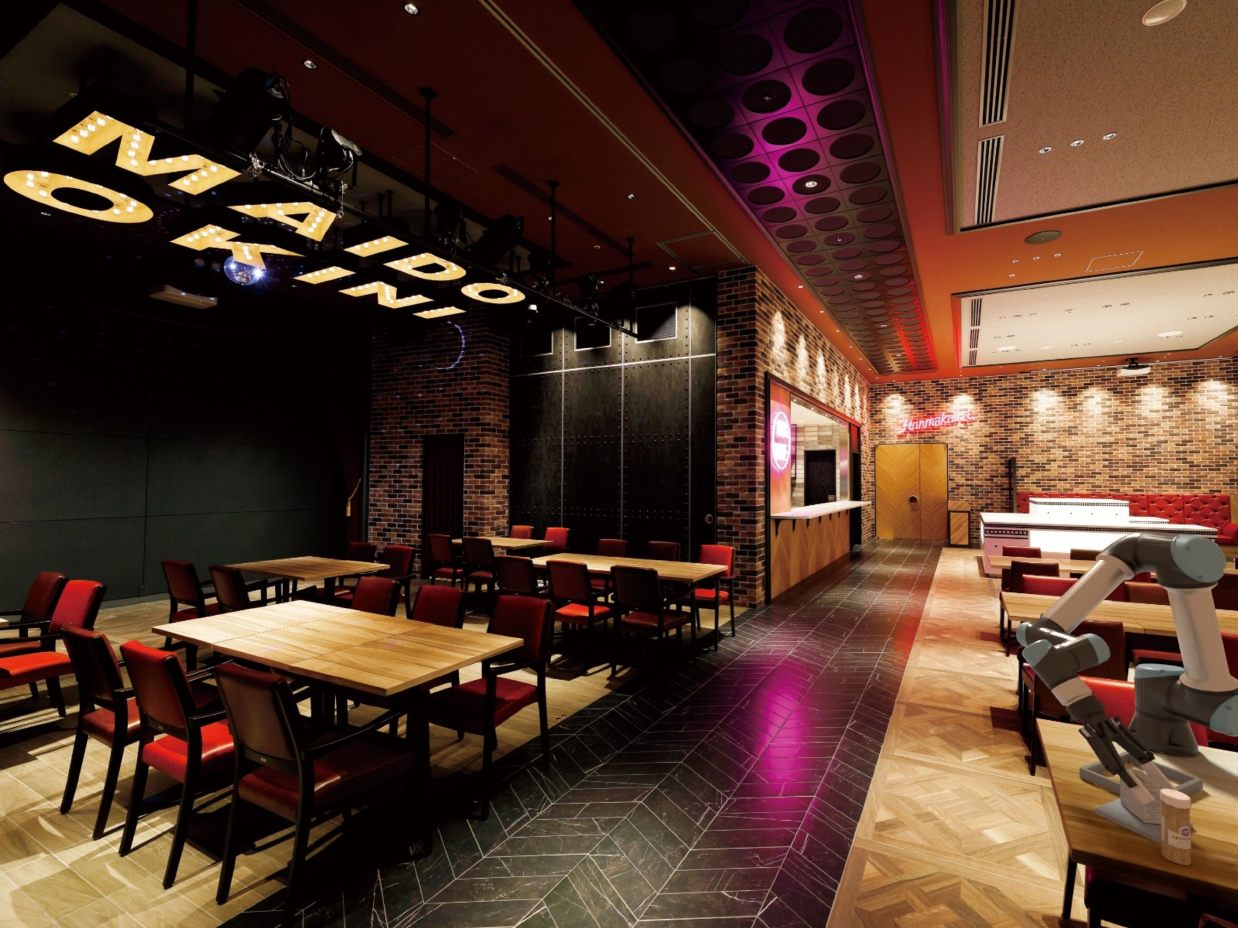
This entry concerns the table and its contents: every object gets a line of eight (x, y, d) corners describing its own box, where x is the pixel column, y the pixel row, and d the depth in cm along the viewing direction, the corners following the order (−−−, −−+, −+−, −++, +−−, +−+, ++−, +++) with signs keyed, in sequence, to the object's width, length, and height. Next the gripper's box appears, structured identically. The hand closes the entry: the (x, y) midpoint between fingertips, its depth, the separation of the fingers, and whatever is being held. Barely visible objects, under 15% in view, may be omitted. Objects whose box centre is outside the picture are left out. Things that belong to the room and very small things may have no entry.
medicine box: (1166, 825, 128) (1165, 786, 128) (1143, 823, 129) (1142, 784, 129) (1141, 805, 136) (1140, 768, 136) (1119, 803, 136) (1119, 767, 137)
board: (1128, 799, 140) (1128, 794, 140) (1192, 827, 129) (1192, 822, 129) (1095, 813, 135) (1094, 808, 135) (1159, 843, 124) (1159, 837, 124)
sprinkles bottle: (1181, 867, 116) (1180, 801, 116) (1155, 853, 120) (1154, 789, 121) (1197, 864, 117) (1196, 797, 117) (1171, 849, 122) (1170, 786, 122)
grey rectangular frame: (1126, 760, 160) (1126, 751, 160) (1202, 789, 145) (1202, 779, 145) (1079, 777, 151) (1079, 767, 151) (1156, 809, 136) (1155, 799, 136)
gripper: (1091, 700, 151) (1170, 792, 136) (1041, 714, 142) (1119, 814, 127) (1115, 687, 146) (1200, 781, 131) (1064, 700, 137) (1149, 802, 122)
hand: (1160, 797), depth 129 cm, fingers open, 9 cm apart
